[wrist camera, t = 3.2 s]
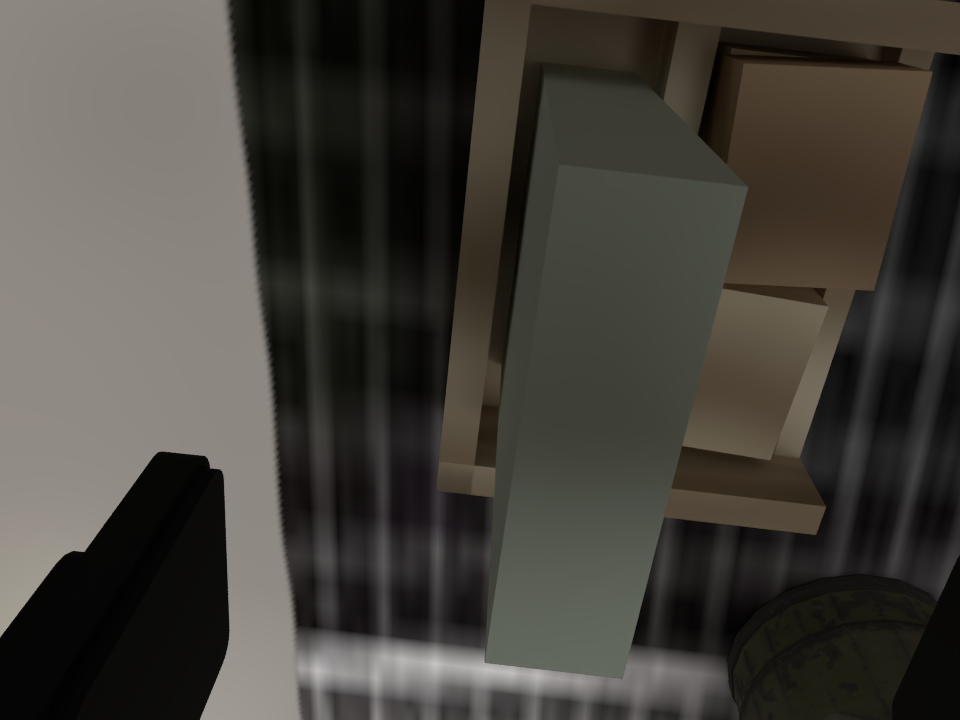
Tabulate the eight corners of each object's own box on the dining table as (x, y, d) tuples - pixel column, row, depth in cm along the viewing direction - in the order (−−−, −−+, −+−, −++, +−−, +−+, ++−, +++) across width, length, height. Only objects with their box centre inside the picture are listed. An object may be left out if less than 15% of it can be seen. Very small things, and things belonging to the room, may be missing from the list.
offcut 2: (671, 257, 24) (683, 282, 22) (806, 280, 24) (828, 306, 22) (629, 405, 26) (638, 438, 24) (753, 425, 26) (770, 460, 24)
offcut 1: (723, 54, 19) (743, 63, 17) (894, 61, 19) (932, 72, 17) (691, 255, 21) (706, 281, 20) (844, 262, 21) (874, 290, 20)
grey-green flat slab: (541, 61, 21) (558, 164, 11) (635, 72, 21) (748, 186, 11) (501, 365, 25) (484, 662, 15) (580, 374, 25) (622, 678, 15)
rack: (496, -51, 21) (490, -53, 17) (915, -1, 21) (1007, 8, 17) (449, 412, 27) (436, 490, 23) (772, 450, 27) (815, 534, 23)
